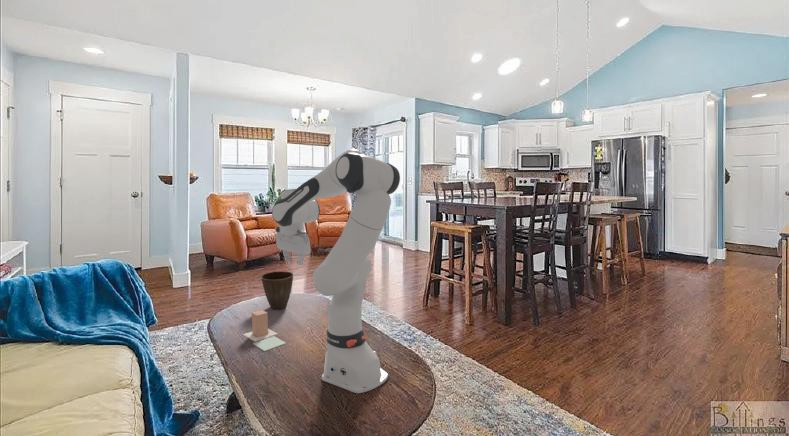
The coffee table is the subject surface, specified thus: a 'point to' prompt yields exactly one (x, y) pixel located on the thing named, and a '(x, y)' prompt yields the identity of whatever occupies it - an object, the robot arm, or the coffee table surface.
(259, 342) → the coaster
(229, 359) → the coffee table surface
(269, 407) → the coffee table surface
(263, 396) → the coffee table surface
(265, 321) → the block
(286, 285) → the plant pot
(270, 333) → the tile
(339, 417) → the coffee table surface
